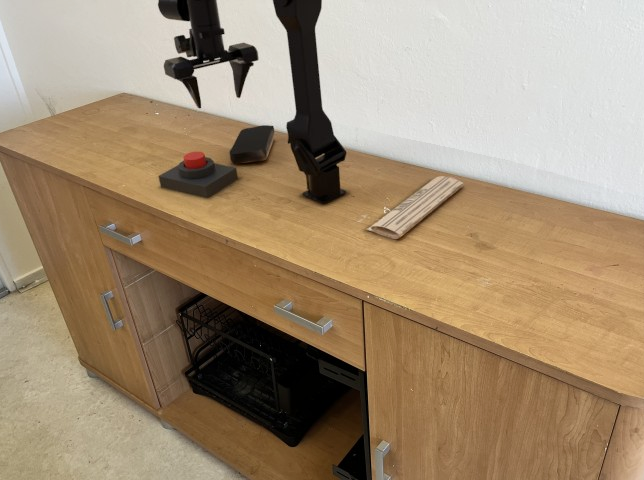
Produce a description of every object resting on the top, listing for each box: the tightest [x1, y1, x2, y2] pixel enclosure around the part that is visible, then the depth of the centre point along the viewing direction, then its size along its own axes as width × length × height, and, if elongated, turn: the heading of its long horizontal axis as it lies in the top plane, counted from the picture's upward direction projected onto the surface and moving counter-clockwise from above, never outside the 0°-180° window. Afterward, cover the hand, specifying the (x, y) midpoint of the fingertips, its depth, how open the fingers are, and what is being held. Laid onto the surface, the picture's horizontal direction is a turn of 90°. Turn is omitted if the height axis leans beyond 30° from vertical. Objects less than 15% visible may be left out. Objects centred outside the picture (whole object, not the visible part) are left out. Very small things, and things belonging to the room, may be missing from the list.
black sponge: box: [229, 124, 275, 165], centre depth 142 cm, size 16×8×4 cm, turn 177°
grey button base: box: [158, 156, 239, 199], centre depth 130 cm, size 13×10×4 cm
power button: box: [183, 151, 207, 169], centre depth 128 cm, size 4×4×2 cm
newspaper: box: [366, 175, 464, 240], centre depth 116 cm, size 24×7×2 cm, turn 143°
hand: (219, 102), depth 130 cm, fingers open, 9 cm apart
